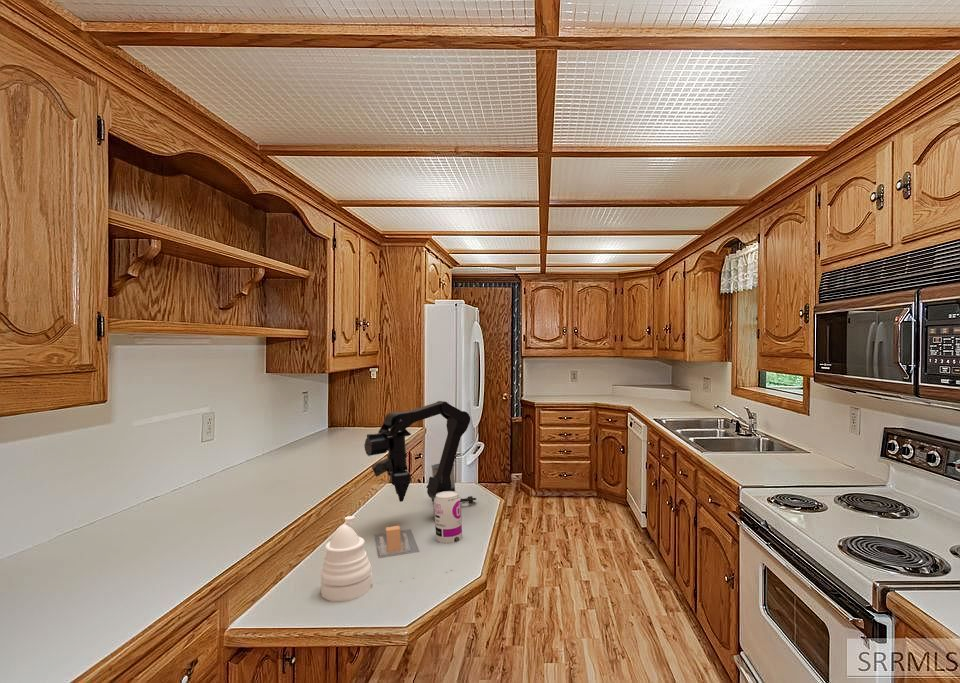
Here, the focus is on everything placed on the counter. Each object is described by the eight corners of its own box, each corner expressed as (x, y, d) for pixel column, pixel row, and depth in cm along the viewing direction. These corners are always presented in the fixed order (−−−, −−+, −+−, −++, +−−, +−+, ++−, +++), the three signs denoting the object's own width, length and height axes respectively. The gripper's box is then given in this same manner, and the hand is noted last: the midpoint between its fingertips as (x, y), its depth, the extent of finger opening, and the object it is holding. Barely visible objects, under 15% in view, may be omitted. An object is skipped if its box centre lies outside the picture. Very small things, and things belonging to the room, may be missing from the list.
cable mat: (410, 532, 172) (410, 529, 172) (419, 555, 153) (419, 551, 153) (374, 538, 169) (374, 534, 169) (378, 562, 150) (378, 558, 150)
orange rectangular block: (400, 545, 158) (399, 525, 158) (401, 548, 155) (400, 528, 155) (386, 547, 157) (385, 527, 157) (387, 551, 154) (386, 530, 154)
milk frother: (431, 501, 206) (428, 464, 206) (469, 495, 211) (467, 459, 211) (438, 512, 192) (436, 472, 192) (479, 505, 197) (477, 467, 197)
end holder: (407, 543, 160) (407, 531, 160) (410, 551, 154) (410, 539, 154) (378, 547, 158) (377, 536, 158) (380, 556, 151) (379, 544, 151)
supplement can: (466, 538, 165) (464, 491, 165) (454, 548, 157) (452, 499, 157) (444, 535, 168) (441, 489, 168) (431, 545, 160) (428, 497, 161)
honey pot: (352, 573, 144) (348, 508, 144) (382, 585, 136) (378, 516, 136) (311, 592, 134) (307, 522, 134) (341, 606, 126) (337, 532, 126)
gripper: (370, 448, 179) (373, 493, 179) (374, 459, 161) (377, 509, 161) (403, 444, 182) (405, 489, 182) (409, 455, 164) (412, 504, 164)
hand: (399, 497), depth 172 cm, fingers open, 9 cm apart
